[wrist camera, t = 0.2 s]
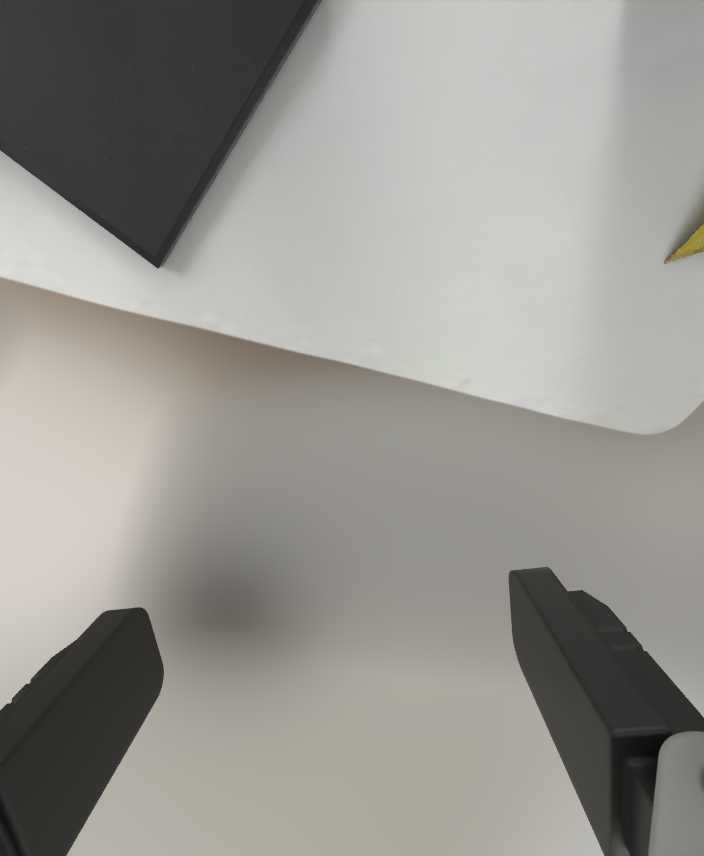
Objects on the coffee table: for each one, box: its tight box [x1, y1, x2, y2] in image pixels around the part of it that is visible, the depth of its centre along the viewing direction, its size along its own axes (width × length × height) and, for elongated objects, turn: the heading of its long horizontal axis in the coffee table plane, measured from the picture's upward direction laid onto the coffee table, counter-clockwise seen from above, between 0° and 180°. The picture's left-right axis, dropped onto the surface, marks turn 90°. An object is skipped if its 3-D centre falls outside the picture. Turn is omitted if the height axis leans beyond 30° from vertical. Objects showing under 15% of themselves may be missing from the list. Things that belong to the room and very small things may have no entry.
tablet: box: [0, 0, 321, 268], centre depth 27 cm, size 15×22×1 cm
